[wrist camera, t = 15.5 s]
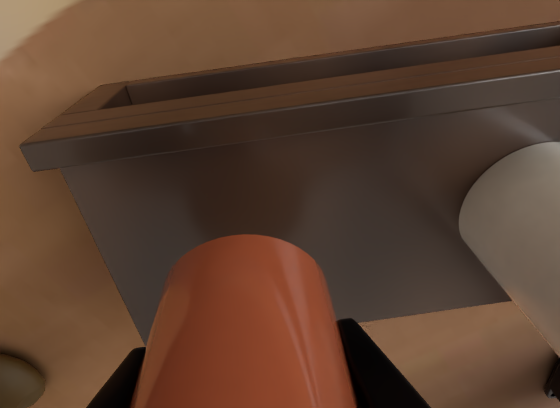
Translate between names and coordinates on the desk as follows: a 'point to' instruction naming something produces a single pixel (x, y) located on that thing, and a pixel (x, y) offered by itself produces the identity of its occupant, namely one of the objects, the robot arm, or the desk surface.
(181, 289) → the orange lidded jar
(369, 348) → the robot arm
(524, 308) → the white lidded jar
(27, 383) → the kendama
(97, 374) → the desk surface
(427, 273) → the shelf
